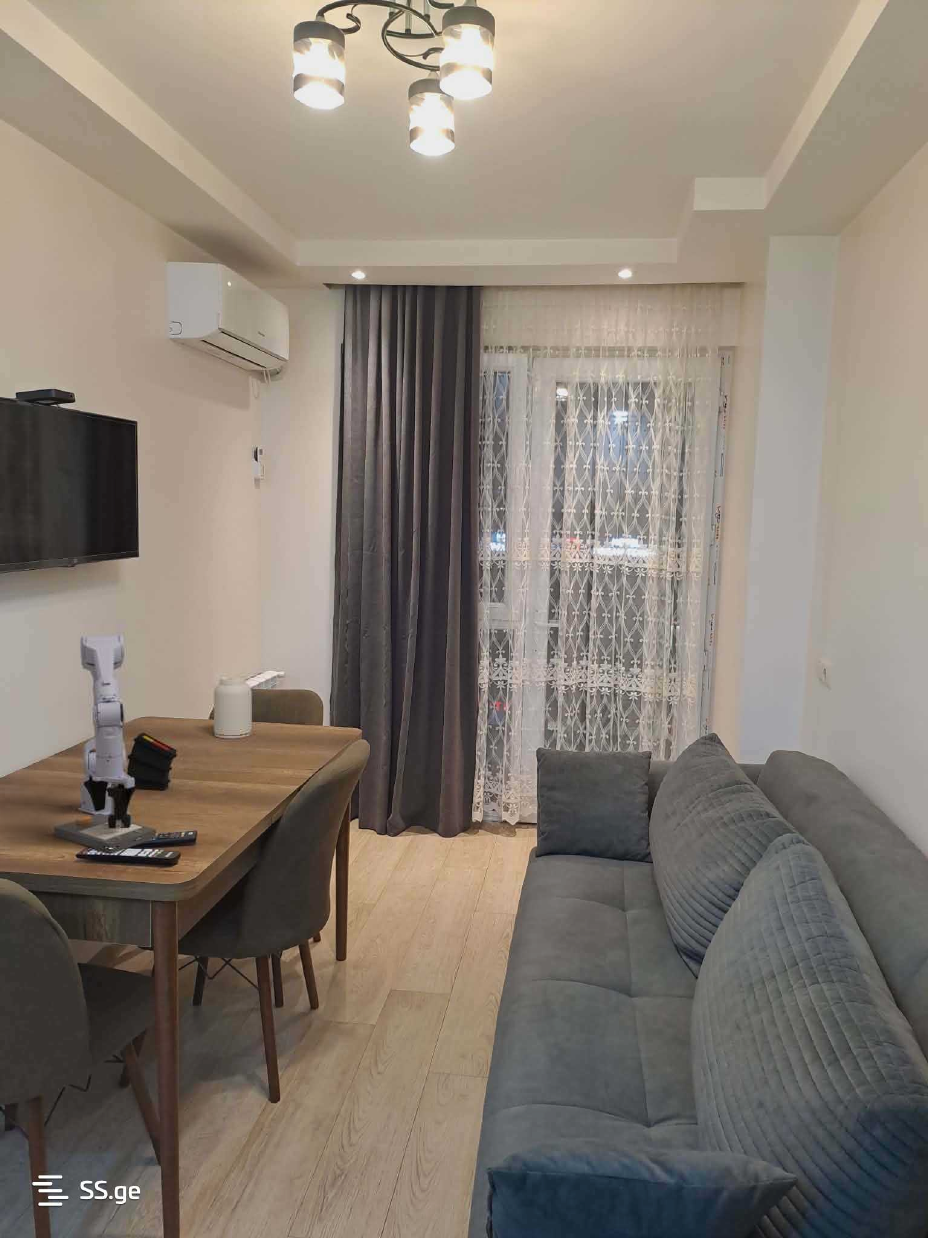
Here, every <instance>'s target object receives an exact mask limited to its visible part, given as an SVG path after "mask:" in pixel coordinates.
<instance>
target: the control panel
mask: <svg viewBox="0 0 928 1238" xmlns="http://www.w3.org/2000/svg"><path fill="white" fill-rule="evenodd" d="M109 816H110V815H104V814H100V813H99V814H96V815H94V814H92V815H89V816H88V815H87V816H83V817H80V818H77V819H75V820H74V821H70V822H67V823H64V824H63V823H62V824H59V825H56V826H54V827H53V828H54V836H55V837H58V838H61V839H65V840H68V841H71V842H74V843H76V844H80V845H82V846H86V847H89V848H93V849H95V850H97V851H101V852H104V853H108V854H114V853H117V852H119V851H122V850H126V849H129V848H132V847H134V846H136V845H140V844H143V843H145V842H148V841H151V840H153V839H156V838H157V830H156V828H152V827H149V826H145V825H141V824H138V823H136V822H135V823H134V822H132V821H131V825H130V827H129V828H109V826H101V825H102V824H108V822H101V821H102V820H108V818H109ZM138 838H142V839H139V840H136V839H138ZM134 840H136V841H134ZM132 841H133V842H132ZM96 844H101V845H103V846H107V847H116V846H119V847H116V848H113V849H109V848H106V847H103V846H99V845H96Z"/></svg>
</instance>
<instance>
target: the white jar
mask: <svg viewBox="0 0 928 1238" xmlns="http://www.w3.org/2000/svg"><path fill="white" fill-rule="evenodd" d="M251 688H252V687H251V686H250V685H249V684H248V683H247V680H246V678H245V677H244V676H237V675H236V676H235V675H233V676H231V675H229V676H223V677H221V678H220V679H219V684H217V685H216V686H215V688H214V692H213V733H214V732H215V733H217V734H224V735H240V734H245V733H249V732H250V731H251V730H252V731H253V728H252V725H253V724H252V723H253V722H252V721H253V720H252V718H253V714H252V713H253V709H252V708H253V707H252V706H253V702H252V699H253V698H252V697H253V693H252V689H251ZM251 735H252V732H251V733H250V734H247V735H242V736H219V735H216V734H214V736H215V737H217V738H221V739H226V740H227V739H228V740H229V739H230V740H231V739H232V740H233V739H234V740H235V739H242V738H247V737H249V736H251Z"/></svg>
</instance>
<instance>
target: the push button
mask: <svg viewBox="0 0 928 1238" xmlns="http://www.w3.org/2000/svg"><path fill="white" fill-rule="evenodd" d="M113 787H118V785H117V784H111V787H109V788H107V792H108V796H109V797H111V812H110V814H109V815H108V816H109V818H108V820H102V821H101V822H108V824H102V825H101V826H109V828H129V827H130V825H131V822H132V814H131V813H130V811H129V808H128V809H127V813H126V816H123V817H120V818H118V817H117V816H116V812H115V803H114V799H113V796H112V793H111V791H110V788H113Z"/></svg>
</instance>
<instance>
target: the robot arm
mask: <svg viewBox="0 0 928 1238" xmlns="http://www.w3.org/2000/svg"><path fill="white" fill-rule="evenodd" d="M124 638H125V637H124V636H122V634H118V635H88V636H87V635H82V636H81V637H80V660H81V663H80V664H81V666H82V668H83V669H84V670H86V671H90V675H91V676H92V680H93V681H92V683H93V684H92V685H93V686H92V692H93V705H92V725H93V729H94V736H93V737H92V738H91V739H89V740H88V741H86V743H84V746H83V748H82V749H83V751H82V752H83V753H82V766H83V768H82V770H83V771H82V772H83V775H84V777H83V779H82V780H81V784H80V797H81V799H80V802H81V803H80V805H81V807H78V811H80V812H85V813H88V814H92V815H96V814H99V813H100V814H104V815H107V816H110V812H111V797H109V796H108V792H107V788H109V787H111V784H117V785H118V787H113V788H110V791H111V793H112V796H113V799H114V803H115V812H116V816H117V817H118V818H120V817H123V816H126V813H127V809H128V810H129V805H130V801H131V799H132V797H133V794H134V792H135V791H136V790H137V789H136V785H135V784H134V778H132V777H130V776H129V775H127V773H126V771H127V751H126V744H125V743H124V740H123V735H124V734H123V727H125V726H124V725H125V721H126V720H125V719H126V717H125V716H126V715H125V714H126V713H125V710H126V709H125V704H124V702H123V698H122V697H121V687H120V683H119V682H118V680H117V679H116V678H114V671H115V670H117V669H119V668H121V667H122V665H123V663H124V657H125V639H124ZM121 724H122V725H121ZM94 749H95V750H94Z"/></svg>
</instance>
